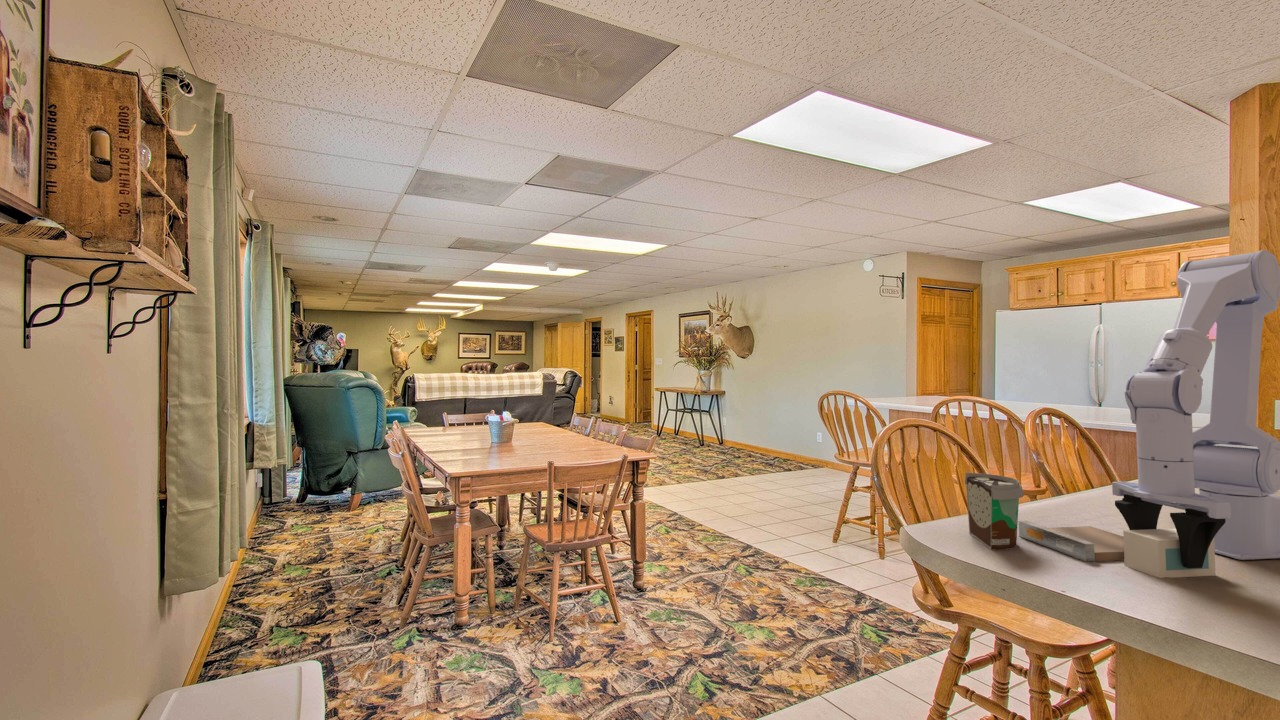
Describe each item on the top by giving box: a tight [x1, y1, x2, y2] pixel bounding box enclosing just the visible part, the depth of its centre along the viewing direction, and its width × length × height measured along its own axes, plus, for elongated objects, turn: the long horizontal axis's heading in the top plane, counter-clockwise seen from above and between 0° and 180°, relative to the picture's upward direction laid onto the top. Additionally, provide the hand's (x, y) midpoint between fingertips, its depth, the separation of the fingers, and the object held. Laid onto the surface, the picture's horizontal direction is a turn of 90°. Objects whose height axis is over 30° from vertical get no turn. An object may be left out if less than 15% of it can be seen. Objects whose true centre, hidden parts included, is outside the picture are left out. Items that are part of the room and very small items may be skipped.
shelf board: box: [1049, 525, 1124, 562], centre depth 89 cm, size 11×13×1 cm
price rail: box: [1018, 520, 1096, 563], centre depth 89 cm, size 2×13×2 cm, turn 5°
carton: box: [1122, 528, 1217, 579], centre depth 79 cm, size 8×5×5 cm, turn 94°
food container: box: [964, 472, 1025, 551], centre depth 93 cm, size 12×6×10 cm, turn 168°
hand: (1168, 559), depth 79 cm, fingers open, 6 cm apart
